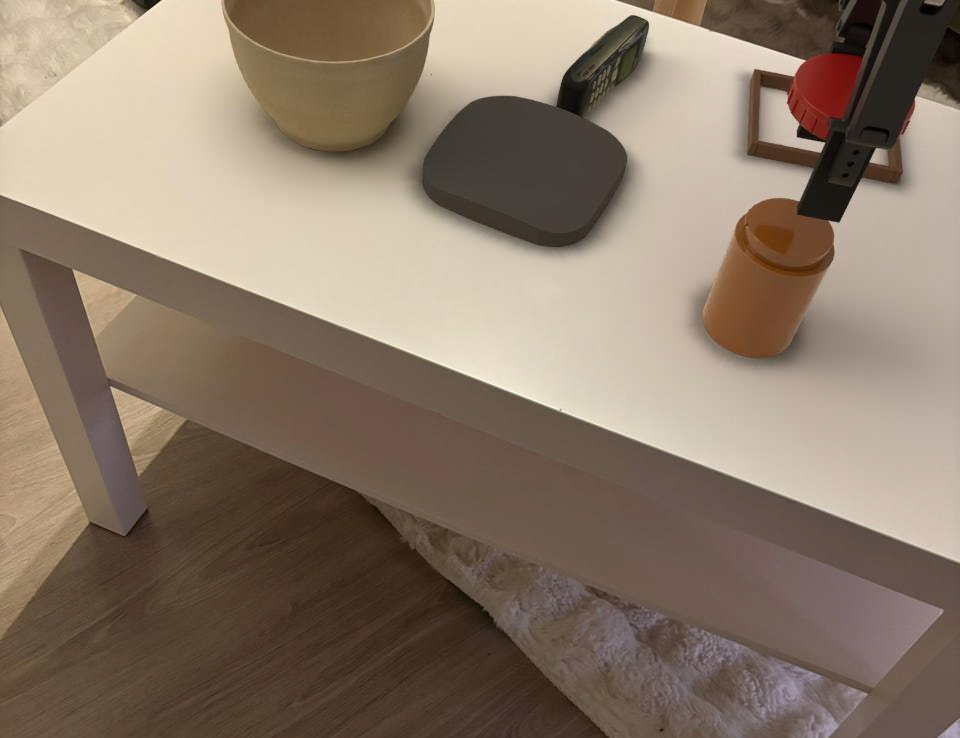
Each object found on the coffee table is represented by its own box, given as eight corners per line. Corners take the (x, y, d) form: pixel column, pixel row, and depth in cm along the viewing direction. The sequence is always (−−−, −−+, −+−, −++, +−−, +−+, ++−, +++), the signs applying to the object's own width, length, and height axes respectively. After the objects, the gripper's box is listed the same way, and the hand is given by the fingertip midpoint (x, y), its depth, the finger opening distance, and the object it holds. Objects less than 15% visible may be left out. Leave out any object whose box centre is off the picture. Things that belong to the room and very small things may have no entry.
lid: (785, 136, 60) (794, 114, 59) (786, 65, 65) (794, 43, 63) (909, 160, 60) (920, 138, 59) (902, 87, 64) (912, 65, 63)
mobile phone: (586, 88, 85) (665, 6, 92) (555, 74, 86) (635, -6, 93) (576, 138, 89) (652, 56, 96) (547, 125, 90) (624, 44, 97)
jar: (789, 308, 80) (840, 204, 71) (789, 374, 76) (843, 272, 67) (701, 290, 80) (742, 184, 71) (696, 355, 76) (738, 251, 68)
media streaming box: (570, 268, 80) (577, 239, 77) (404, 202, 82) (406, 171, 80) (634, 165, 88) (642, 135, 85) (481, 107, 90) (484, 77, 87)
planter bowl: (448, 90, 91) (458, -31, 82) (396, 205, 82) (400, 83, 73) (276, 49, 92) (266, -76, 83) (205, 157, 83) (186, 31, 74)
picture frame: (886, 115, 95) (896, 95, 94) (892, 192, 89) (903, 172, 87) (747, 88, 95) (754, 68, 94) (743, 163, 89) (751, 142, 87)
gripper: (905, -324, 53) (762, 75, 72) (935, -147, 42) (757, 269, 61) (1048, -298, 53) (867, 94, 72) (1116, -114, 42) (881, 293, 61)
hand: (817, 174), depth 66 cm, fingers closed on lid, 7 cm apart
